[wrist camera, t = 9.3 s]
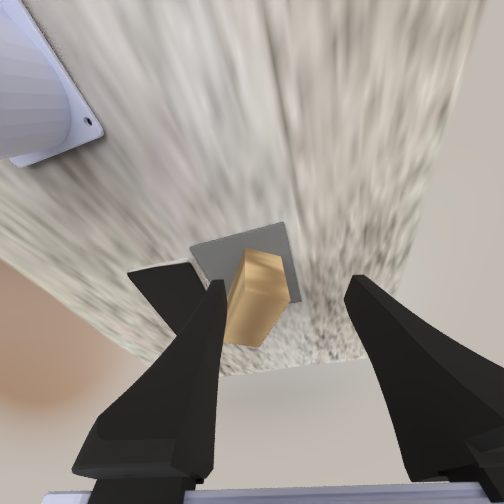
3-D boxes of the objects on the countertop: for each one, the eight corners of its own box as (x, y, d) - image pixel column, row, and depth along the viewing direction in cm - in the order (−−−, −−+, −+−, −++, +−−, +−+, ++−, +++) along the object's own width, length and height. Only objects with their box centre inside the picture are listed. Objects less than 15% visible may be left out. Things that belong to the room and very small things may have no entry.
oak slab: (227, 296, 25) (222, 342, 20) (245, 247, 21) (244, 291, 16) (257, 302, 26) (259, 347, 21) (280, 256, 21) (290, 300, 17)
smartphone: (190, 259, 21) (231, 335, 30) (193, 252, 22) (231, 328, 31) (123, 273, 22) (181, 343, 31) (128, 266, 23) (183, 335, 32)
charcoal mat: (190, 246, 21) (189, 248, 21) (283, 221, 19) (284, 223, 19) (230, 313, 28) (229, 315, 27) (300, 298, 26) (301, 301, 26)
